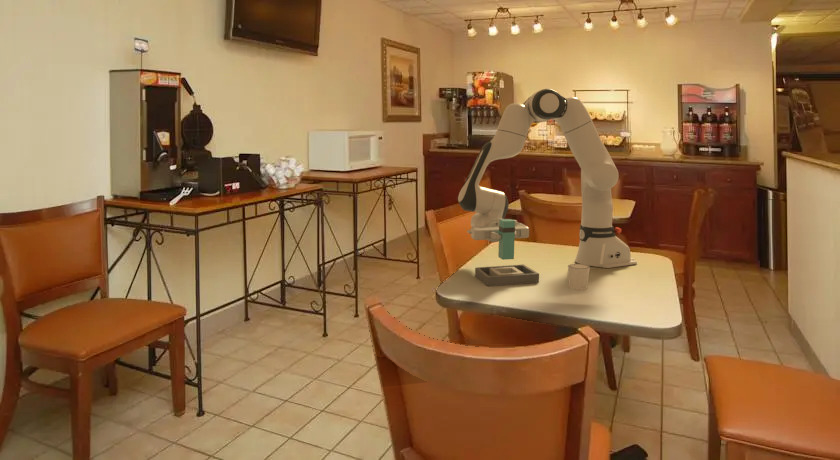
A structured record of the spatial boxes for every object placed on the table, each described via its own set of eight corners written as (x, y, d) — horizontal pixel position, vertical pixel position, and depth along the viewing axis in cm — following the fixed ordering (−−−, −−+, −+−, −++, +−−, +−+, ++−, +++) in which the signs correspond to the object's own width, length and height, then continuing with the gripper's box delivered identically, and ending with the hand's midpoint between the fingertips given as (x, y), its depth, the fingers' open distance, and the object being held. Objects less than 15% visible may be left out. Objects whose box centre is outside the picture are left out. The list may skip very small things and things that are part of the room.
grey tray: (523, 272, 200) (523, 264, 199) (538, 282, 187) (539, 273, 187) (475, 275, 196) (475, 267, 195) (487, 286, 183) (487, 277, 183)
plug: (509, 256, 193) (510, 219, 190) (514, 259, 189) (515, 221, 186) (498, 256, 192) (499, 219, 189) (502, 259, 188) (503, 221, 185)
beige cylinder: (590, 290, 178) (591, 269, 177) (567, 289, 179) (568, 268, 178) (588, 284, 184) (589, 263, 183) (566, 283, 186) (567, 263, 185)
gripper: (465, 221, 198) (478, 228, 185) (519, 219, 203) (536, 226, 190) (465, 239, 200) (478, 247, 186) (519, 236, 204) (535, 244, 191)
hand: (507, 236), depth 188 cm, fingers closed on plug, 4 cm apart
